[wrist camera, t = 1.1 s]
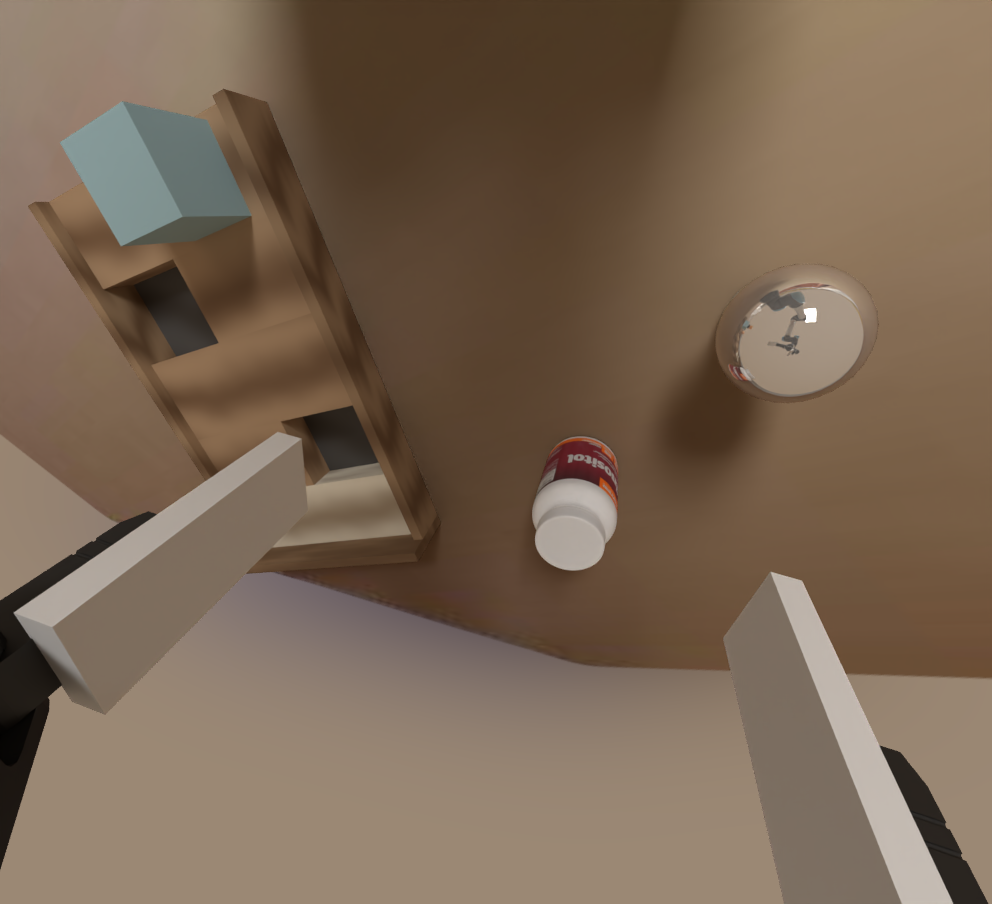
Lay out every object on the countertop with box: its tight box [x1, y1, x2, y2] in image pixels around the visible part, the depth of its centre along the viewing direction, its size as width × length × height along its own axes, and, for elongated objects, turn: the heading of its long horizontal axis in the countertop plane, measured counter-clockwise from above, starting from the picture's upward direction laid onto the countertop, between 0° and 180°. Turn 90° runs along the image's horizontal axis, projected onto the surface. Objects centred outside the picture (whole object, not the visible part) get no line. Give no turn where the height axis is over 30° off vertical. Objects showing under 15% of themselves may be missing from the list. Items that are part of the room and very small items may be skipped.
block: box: [60, 101, 252, 246], centre depth 30 cm, size 6×6×6 cm
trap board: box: [28, 89, 441, 574], centre depth 40 cm, size 37×22×6 cm, turn 17°
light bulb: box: [715, 264, 879, 403], centre depth 25 cm, size 7×7×12 cm
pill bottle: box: [532, 436, 618, 570], centre depth 34 cm, size 6×6×11 cm
